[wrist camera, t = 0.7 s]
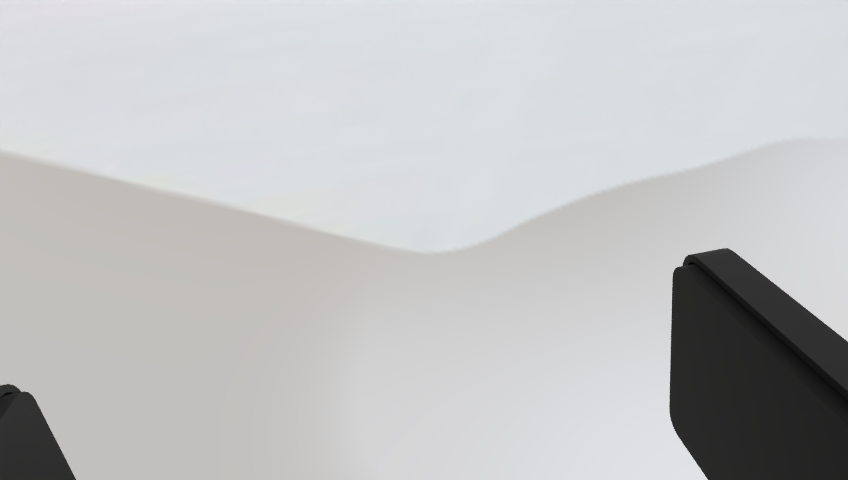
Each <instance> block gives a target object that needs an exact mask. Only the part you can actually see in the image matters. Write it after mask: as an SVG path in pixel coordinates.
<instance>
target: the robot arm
mask: <svg viewBox="0 0 848 480" xmlns="http://www.w3.org/2000/svg"><path fill="white" fill-rule="evenodd" d="M672 291H673V292H672V329H671V330H672V331H671V372H670V417H671V421H672V424H673V427H674V429H675V431H676V433H677V435H678V436H679V438H680V439H681V441H682V442H683V444H684V445H685V447H686V448H687V450H688V451H689V452H690V454H691V455H692V457H693V458H694V460H695V461H696V463H697V464H698V466H699V467H700V468H701V470H702V471H703V473H704V474H705V476H706V477H707V479H708V480H848V342H847V341H846V340H845V339H843V338H842V337H841V336H840V335H838V334H837V333H836V332H835V331H833V330H832V329H831V328H830V327H828V326H827V325H826V324H824V323H823V322H822V321H821V320H819V319H818V318H817V317H816V316H814V315H813V314H812V313H810V312H809V311H808V310H807V309H806V308H804V307H803V306H802V305H800V304H799V303H798V302H797V301H795V300H794V299H793V298H791V297H790V296H789V295H788V294H787V293H785V292H784V291H782V290H781V289H780V288H779V287H778V286H776V285H775V284H774V283H773V282H771V281H770V280H769V279H768V278H766V277H765V276H764V275H762V274H761V273H760V272H759V271H757V270H756V269H755V268H754V267H752V266H751V265H750V264H748V263H747V262H746V261H745V260H744V259H742V258H741V257H740V256H738V255H737V254H736V253H735V252H733V251H732V250H730V249H728V248H726V249H718V250H713V251H708V252H703V253H698V254H692V255H688V256H687V257H686V258H685V260H684V262H683V266H681V267H677V268H676V269H675V270H674V273H673V288H672ZM0 480H76V479H75V477H74V475H73V473H72V471H71V469H70V467H69V465H68V463H67V461H66V459H65V457H64V455H63V453H62V451H61V449H60V447H59V445H58V443H57V442H56V440H55V438H54V436H53V434H52V432H51V430H50V428H49V426H48V424H47V422H46V420H45V418H44V416H43V414H42V412H41V410H40V408H39V406H38V405H37V402H36V400H35V399H34V397H33V396H32V395H31V394H30V393H28V392H21V391H20V390H19V389H18V388H17V387H15V386H14V385H10V384H7V385H1V386H0Z"/></svg>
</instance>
